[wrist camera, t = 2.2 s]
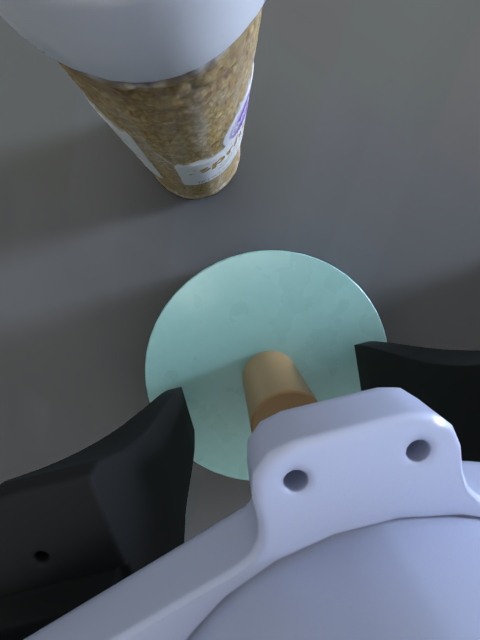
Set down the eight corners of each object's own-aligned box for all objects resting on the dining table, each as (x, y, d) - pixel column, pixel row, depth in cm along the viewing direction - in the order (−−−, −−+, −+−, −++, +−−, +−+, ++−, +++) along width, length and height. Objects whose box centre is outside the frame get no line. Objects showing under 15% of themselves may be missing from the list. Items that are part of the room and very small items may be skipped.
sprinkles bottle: (237, 203, 16) (310, 12, 3) (145, 196, 16) (-221, -53, 3) (243, 101, 15) (391, -844, 2) (145, 91, 15) (-436, -1112, 2)
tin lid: (384, 245, 14) (474, 244, 9) (370, 458, 17) (435, 549, 12) (138, 254, 14) (90, 259, 9) (161, 473, 16) (134, 575, 11)
